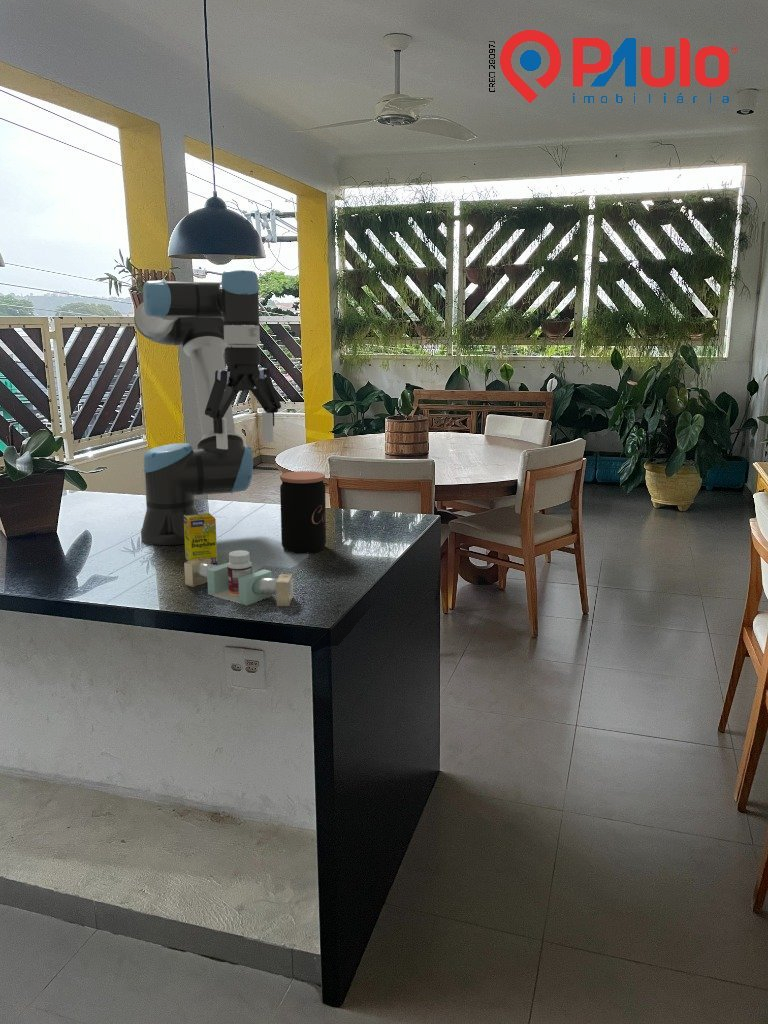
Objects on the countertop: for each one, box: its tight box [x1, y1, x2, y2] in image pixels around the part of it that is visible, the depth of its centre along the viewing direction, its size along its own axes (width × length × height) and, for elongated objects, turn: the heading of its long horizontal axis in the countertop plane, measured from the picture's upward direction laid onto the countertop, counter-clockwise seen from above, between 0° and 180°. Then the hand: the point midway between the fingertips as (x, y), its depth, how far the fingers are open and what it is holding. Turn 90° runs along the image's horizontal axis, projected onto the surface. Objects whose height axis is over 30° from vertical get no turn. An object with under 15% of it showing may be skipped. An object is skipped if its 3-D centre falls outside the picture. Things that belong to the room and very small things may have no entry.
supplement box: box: [184, 512, 218, 566], centre depth 171 cm, size 6×6×11 cm
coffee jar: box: [279, 470, 327, 555], centre depth 182 cm, size 11×11×18 cm
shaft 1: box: [183, 557, 217, 588], centre depth 157 cm, size 9×5×5 cm, turn 53°
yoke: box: [207, 562, 273, 607], centre depth 151 cm, size 11×7×5 cm, turn 53°
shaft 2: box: [252, 573, 294, 607], centre depth 148 cm, size 8×5×5 cm, turn 88°
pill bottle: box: [227, 549, 253, 597], centre depth 151 cm, size 5×5×8 cm
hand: (245, 445), depth 168 cm, fingers open, 13 cm apart
